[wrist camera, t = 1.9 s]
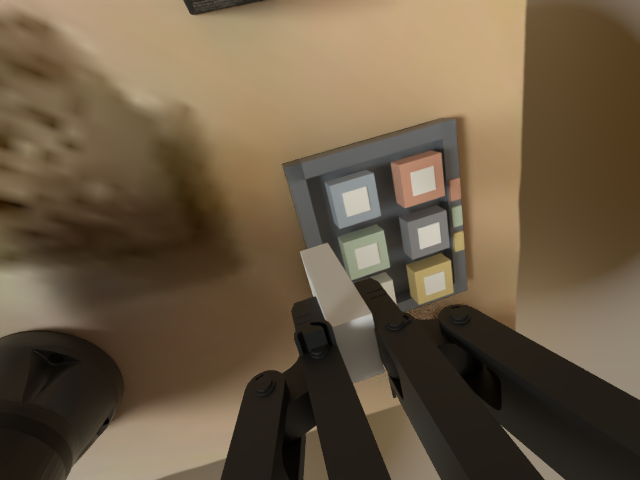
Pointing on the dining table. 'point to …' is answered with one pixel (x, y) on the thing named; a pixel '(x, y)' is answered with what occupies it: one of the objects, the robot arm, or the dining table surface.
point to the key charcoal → (424, 232)
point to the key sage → (364, 251)
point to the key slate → (353, 198)
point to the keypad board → (382, 197)
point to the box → (212, 5)
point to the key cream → (385, 284)
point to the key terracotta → (418, 178)
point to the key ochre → (430, 278)
